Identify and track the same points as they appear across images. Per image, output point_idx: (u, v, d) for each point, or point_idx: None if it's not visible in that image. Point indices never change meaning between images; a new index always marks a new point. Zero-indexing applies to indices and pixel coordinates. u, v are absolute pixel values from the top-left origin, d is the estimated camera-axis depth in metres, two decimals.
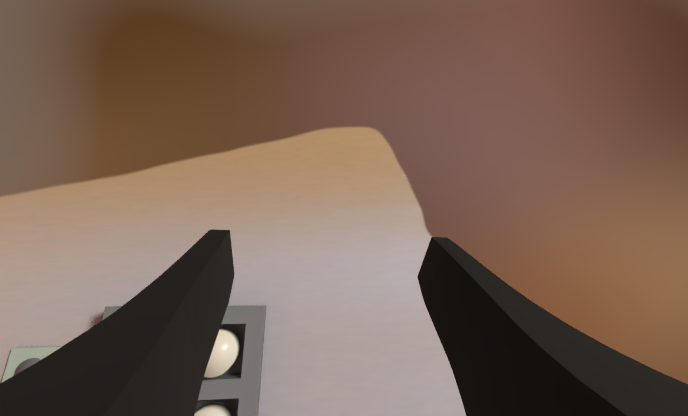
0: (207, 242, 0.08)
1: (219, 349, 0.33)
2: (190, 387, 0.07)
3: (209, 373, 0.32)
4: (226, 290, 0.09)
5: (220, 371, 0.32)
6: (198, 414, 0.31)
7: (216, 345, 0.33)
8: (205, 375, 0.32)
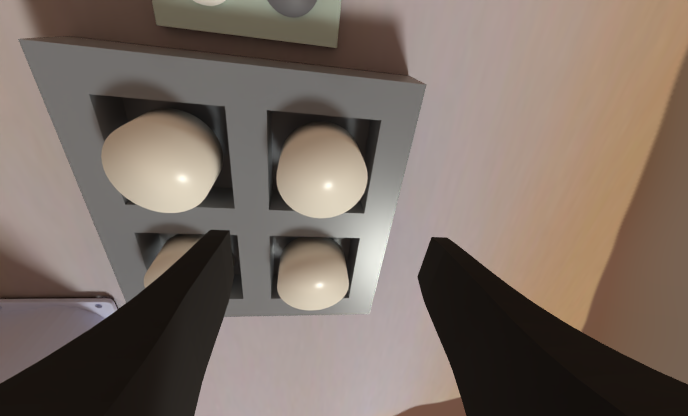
0: (207, 242, 0.08)
1: (319, 293, 0.20)
2: (190, 387, 0.07)
3: (283, 285, 0.19)
4: (226, 290, 0.09)
5: (285, 296, 0.20)
6: None
7: (325, 289, 0.20)
8: (280, 280, 0.19)
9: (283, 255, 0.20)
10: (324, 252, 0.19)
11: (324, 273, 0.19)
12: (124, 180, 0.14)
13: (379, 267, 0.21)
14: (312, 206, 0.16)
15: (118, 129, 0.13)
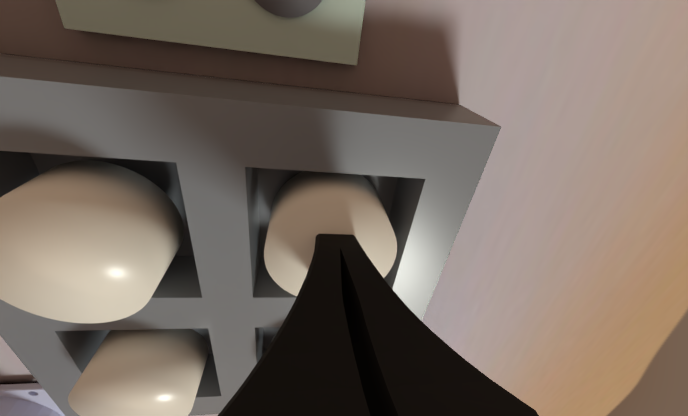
0: (327, 245, 0.09)
1: None
2: None
3: None
4: None
5: None
6: (182, 392, 0.13)
7: None
8: None
9: None
10: None
11: None
12: (7, 285, 0.09)
13: None
14: None
15: None
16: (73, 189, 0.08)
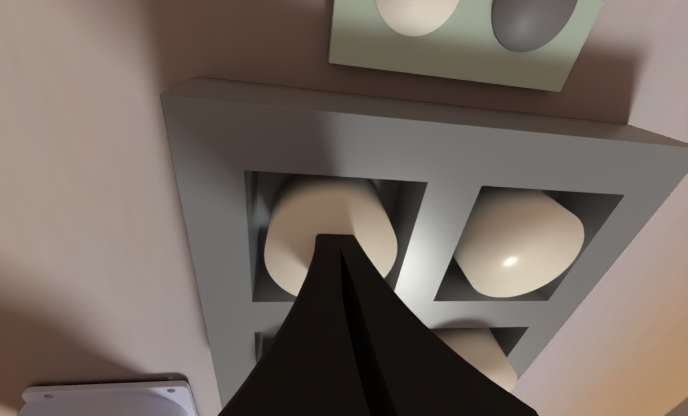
0: (327, 245, 0.09)
1: None
2: None
3: None
4: None
5: None
6: None
7: None
8: None
9: None
10: (491, 349, 0.15)
11: (491, 377, 0.14)
12: (285, 268, 0.11)
13: (536, 355, 0.17)
14: (499, 285, 0.13)
15: (299, 209, 0.09)
16: (351, 190, 0.10)
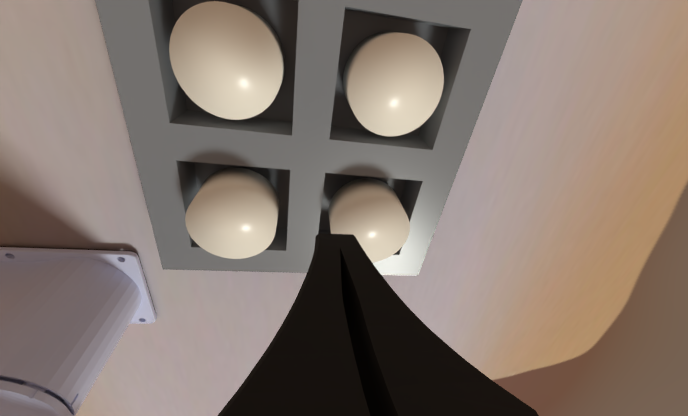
0: (327, 245, 0.09)
1: (376, 241, 0.18)
2: None
3: (338, 229, 0.17)
4: None
5: None
6: (271, 216, 0.16)
7: (383, 236, 0.18)
8: (336, 223, 0.17)
9: (336, 199, 0.18)
10: (385, 194, 0.17)
11: (385, 216, 0.17)
12: (190, 75, 0.13)
13: (437, 218, 0.19)
14: (381, 120, 0.15)
15: (192, 8, 0.12)
16: (240, 7, 0.13)
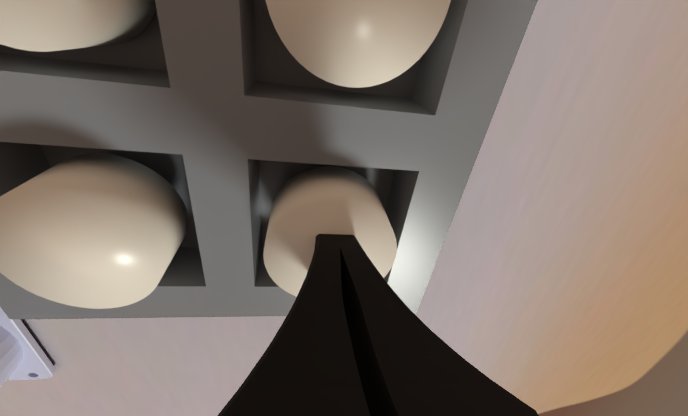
0: (327, 245, 0.09)
1: None
2: None
3: (275, 251, 0.10)
4: None
5: (279, 275, 0.11)
6: (145, 239, 0.09)
7: None
8: (269, 242, 0.10)
9: (276, 201, 0.11)
10: (354, 191, 0.10)
11: (353, 229, 0.10)
12: None
13: (444, 232, 0.12)
14: (336, 55, 0.08)
15: None
16: None
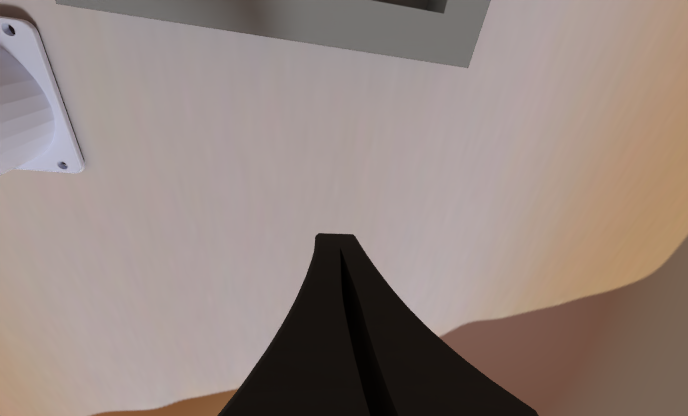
0: (327, 245, 0.09)
1: None
2: None
3: None
4: None
5: None
6: None
7: None
8: None
9: None
10: None
11: None
12: None
13: None
14: None
15: None
16: None
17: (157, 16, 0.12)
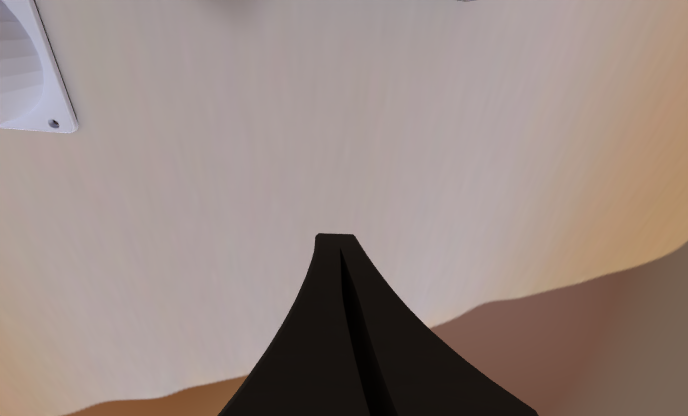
0: (327, 245, 0.09)
1: None
2: None
3: None
4: None
5: None
6: None
7: None
8: None
9: None
10: None
11: None
12: None
13: None
14: None
15: None
16: None
17: None
